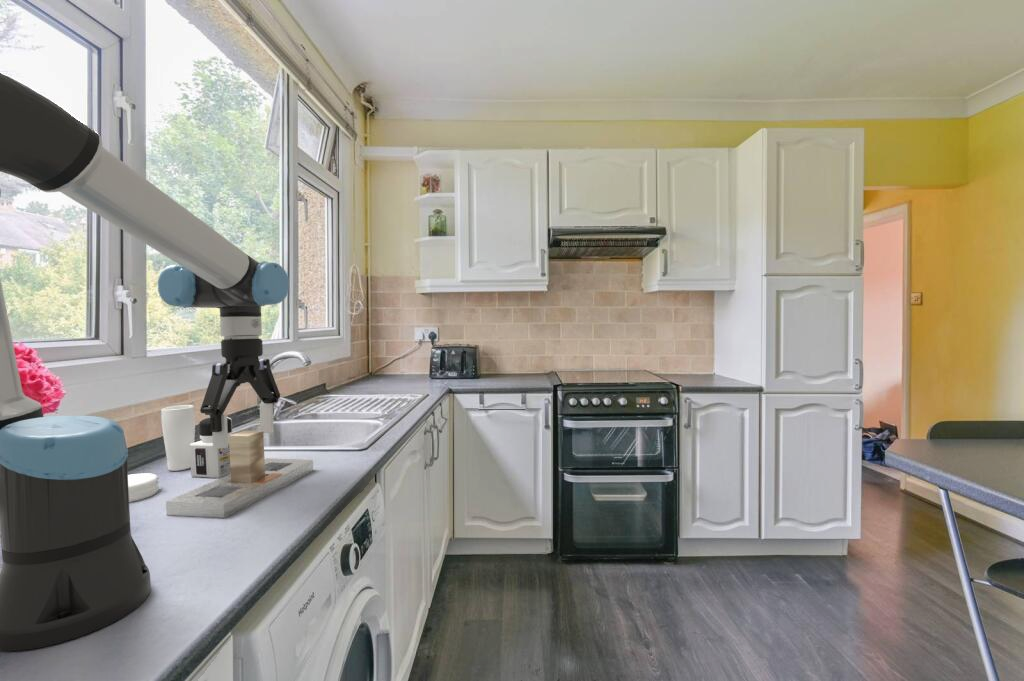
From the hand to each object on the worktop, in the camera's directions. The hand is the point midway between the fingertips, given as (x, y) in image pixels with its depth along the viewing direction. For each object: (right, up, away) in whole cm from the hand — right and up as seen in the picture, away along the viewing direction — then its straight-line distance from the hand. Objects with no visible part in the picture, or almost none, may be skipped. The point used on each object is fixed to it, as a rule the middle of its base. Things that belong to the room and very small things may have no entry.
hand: (245, 440), depth 103 cm
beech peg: (0, -11, +1) cm, 11 cm away
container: (-14, -11, +13) cm, 22 cm away
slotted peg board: (0, -11, +1) cm, 11 cm away
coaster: (-23, -12, -1) cm, 26 cm away
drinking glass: (-25, -11, +18) cm, 32 cm away
